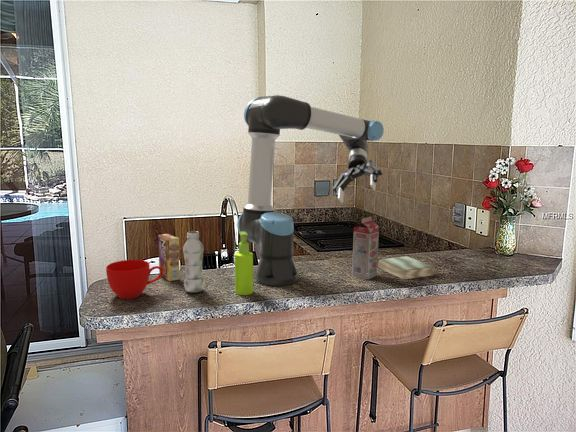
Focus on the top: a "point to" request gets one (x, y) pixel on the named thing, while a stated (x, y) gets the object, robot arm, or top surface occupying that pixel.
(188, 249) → the plastic bottle
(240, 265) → the soap dispenser
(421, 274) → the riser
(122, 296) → the ceramic cup
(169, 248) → the candy box
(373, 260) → the juice carton
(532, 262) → the top surface
